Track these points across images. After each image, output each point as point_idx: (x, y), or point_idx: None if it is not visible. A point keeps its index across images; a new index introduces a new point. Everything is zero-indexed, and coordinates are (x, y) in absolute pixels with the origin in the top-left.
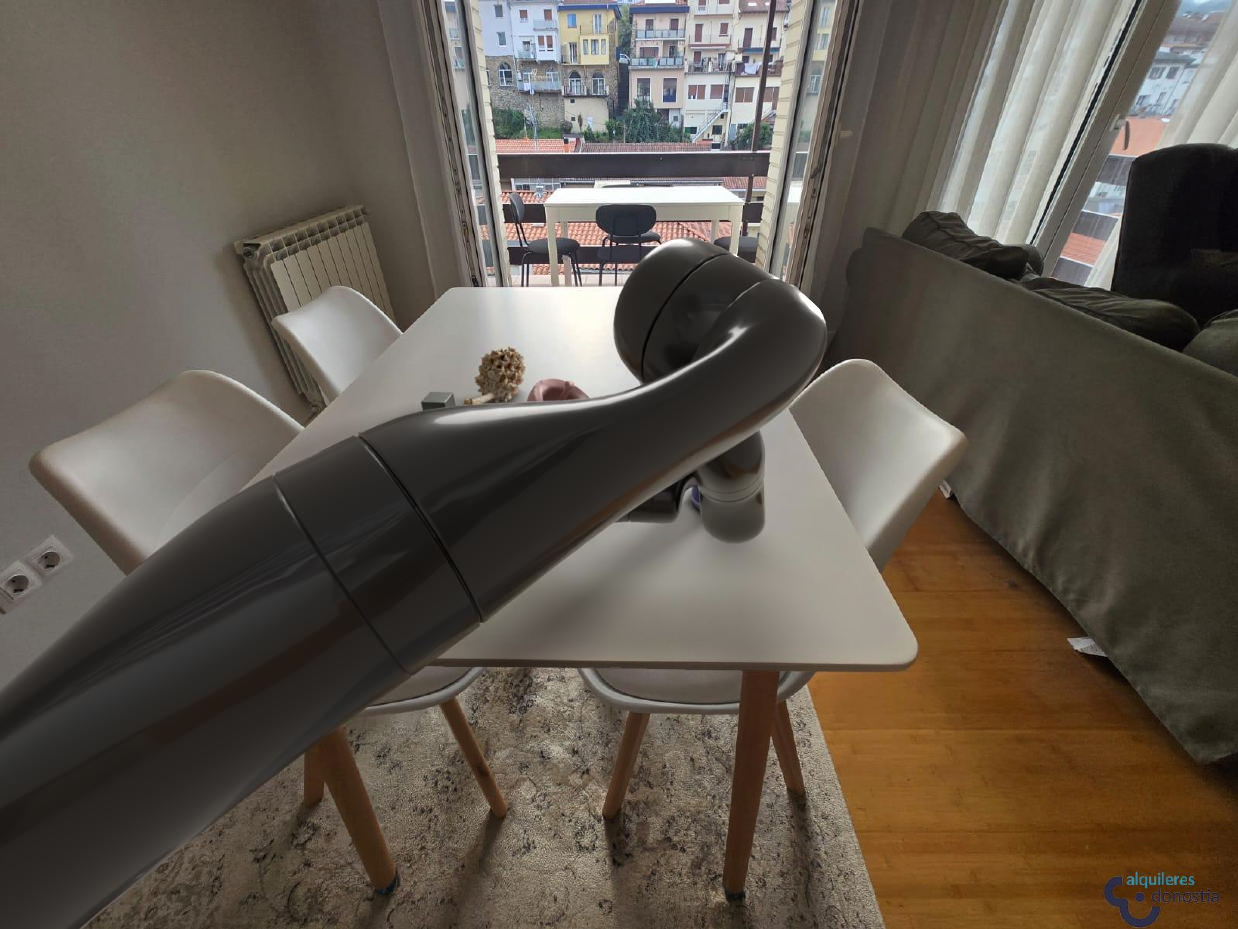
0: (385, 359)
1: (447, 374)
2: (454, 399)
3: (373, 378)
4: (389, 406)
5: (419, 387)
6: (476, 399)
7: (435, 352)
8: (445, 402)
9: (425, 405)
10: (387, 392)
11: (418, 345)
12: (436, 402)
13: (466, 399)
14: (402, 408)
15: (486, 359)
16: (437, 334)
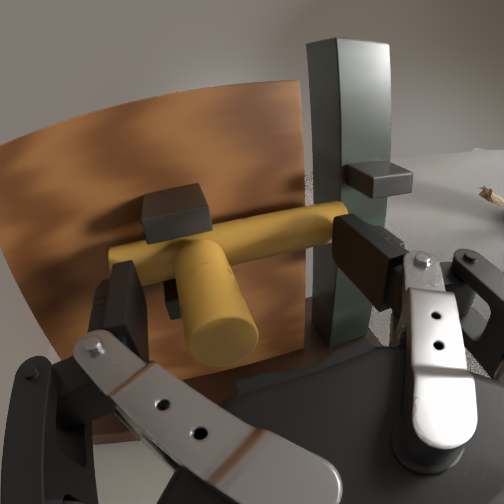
0: (451, 153)
1: (490, 179)
2: (389, 62)
3: (430, 157)
4: (421, 176)
5: (459, 176)
6: (497, 196)
7: (491, 164)
8: (340, 39)
9: (310, 50)
10: (430, 168)
11: (482, 156)
12: (325, 40)
13: (485, 187)
14: (429, 181)
15: None
16: (501, 158)
